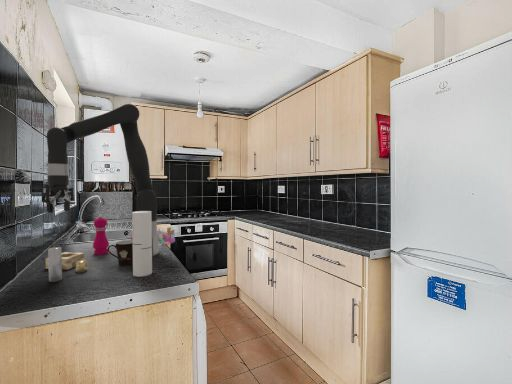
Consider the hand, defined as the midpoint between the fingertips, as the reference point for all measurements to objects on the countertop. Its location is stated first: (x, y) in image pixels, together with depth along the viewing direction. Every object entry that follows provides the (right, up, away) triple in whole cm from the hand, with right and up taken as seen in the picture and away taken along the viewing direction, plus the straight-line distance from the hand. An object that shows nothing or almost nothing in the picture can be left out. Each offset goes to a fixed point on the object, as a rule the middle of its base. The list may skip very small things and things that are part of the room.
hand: (58, 211), depth 119 cm
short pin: (+14, -24, -6) cm, 28 cm away
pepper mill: (+6, -23, +22) cm, 33 cm away
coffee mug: (+26, -24, +4) cm, 36 cm away
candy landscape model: (+24, -23, +47) cm, 58 cm away
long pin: (+11, -25, -16) cm, 31 cm away
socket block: (+2, -24, +1) cm, 24 cm away
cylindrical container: (+40, -25, -9) cm, 48 cm away
